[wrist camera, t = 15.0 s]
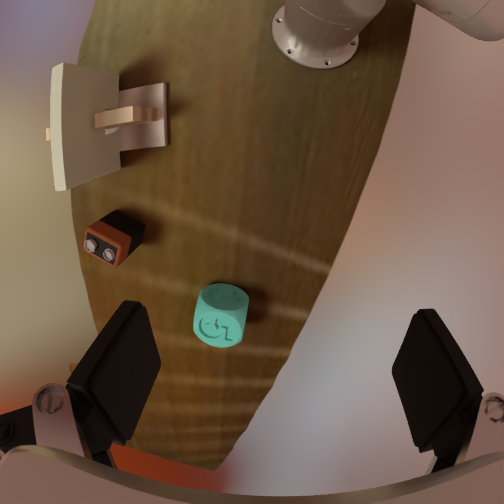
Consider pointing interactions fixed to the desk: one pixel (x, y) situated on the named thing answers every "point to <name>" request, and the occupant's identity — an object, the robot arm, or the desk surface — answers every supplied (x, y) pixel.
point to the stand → (136, 118)
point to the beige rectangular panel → (82, 124)
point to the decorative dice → (221, 315)
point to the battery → (113, 238)
